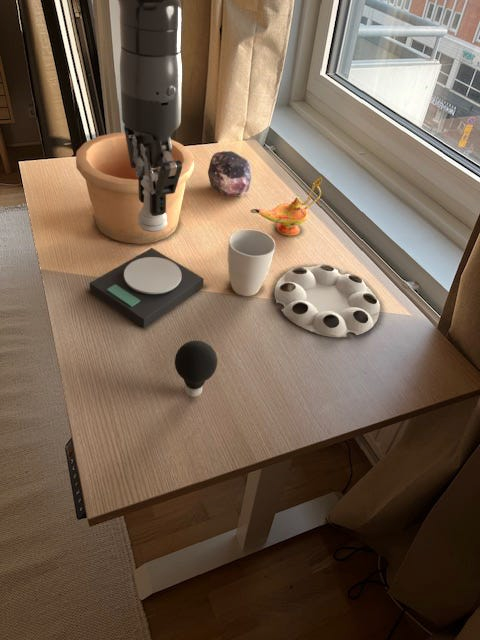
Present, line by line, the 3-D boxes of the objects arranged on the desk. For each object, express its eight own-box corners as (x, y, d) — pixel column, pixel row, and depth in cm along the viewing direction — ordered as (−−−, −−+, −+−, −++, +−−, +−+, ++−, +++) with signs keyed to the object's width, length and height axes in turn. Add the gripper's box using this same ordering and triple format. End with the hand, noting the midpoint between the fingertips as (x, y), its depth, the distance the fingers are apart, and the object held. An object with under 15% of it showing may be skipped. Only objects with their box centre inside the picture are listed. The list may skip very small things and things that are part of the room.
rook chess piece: (157, 214, 81) (157, 166, 75) (173, 228, 78) (174, 180, 73) (132, 222, 78) (130, 173, 73) (148, 236, 76) (147, 187, 70)
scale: (143, 328, 85) (143, 315, 83) (90, 291, 90) (88, 279, 88) (203, 287, 94) (204, 274, 92) (151, 256, 99) (151, 244, 97)
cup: (274, 297, 94) (283, 252, 88) (232, 304, 92) (238, 259, 85) (256, 270, 100) (264, 226, 93) (217, 277, 97) (221, 232, 90)
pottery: (62, 212, 107) (53, 145, 97) (151, 185, 119) (151, 123, 109) (119, 265, 96) (115, 196, 86) (211, 230, 108) (217, 166, 98)
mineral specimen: (252, 175, 124) (257, 145, 115) (245, 210, 120) (249, 182, 111) (212, 167, 124) (213, 137, 115) (203, 202, 120) (204, 173, 111)
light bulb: (168, 383, 77) (170, 335, 70) (206, 375, 79) (211, 328, 72) (179, 414, 73) (182, 367, 66) (218, 405, 75) (225, 358, 68)
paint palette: (252, 288, 95) (254, 280, 94) (324, 256, 106) (326, 248, 104) (330, 353, 85) (332, 345, 84) (400, 310, 96) (404, 302, 94)
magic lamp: (238, 231, 109) (244, 183, 102) (304, 214, 117) (315, 169, 110) (255, 248, 105) (263, 200, 98) (323, 229, 113) (335, 184, 106)
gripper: (101, 69, 67) (109, 189, 79) (147, 112, 59) (148, 238, 70) (154, 65, 70) (155, 180, 82) (205, 104, 62) (197, 226, 74)
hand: (152, 206), depth 76 cm, fingers closed on rook chess piece, 3 cm apart
